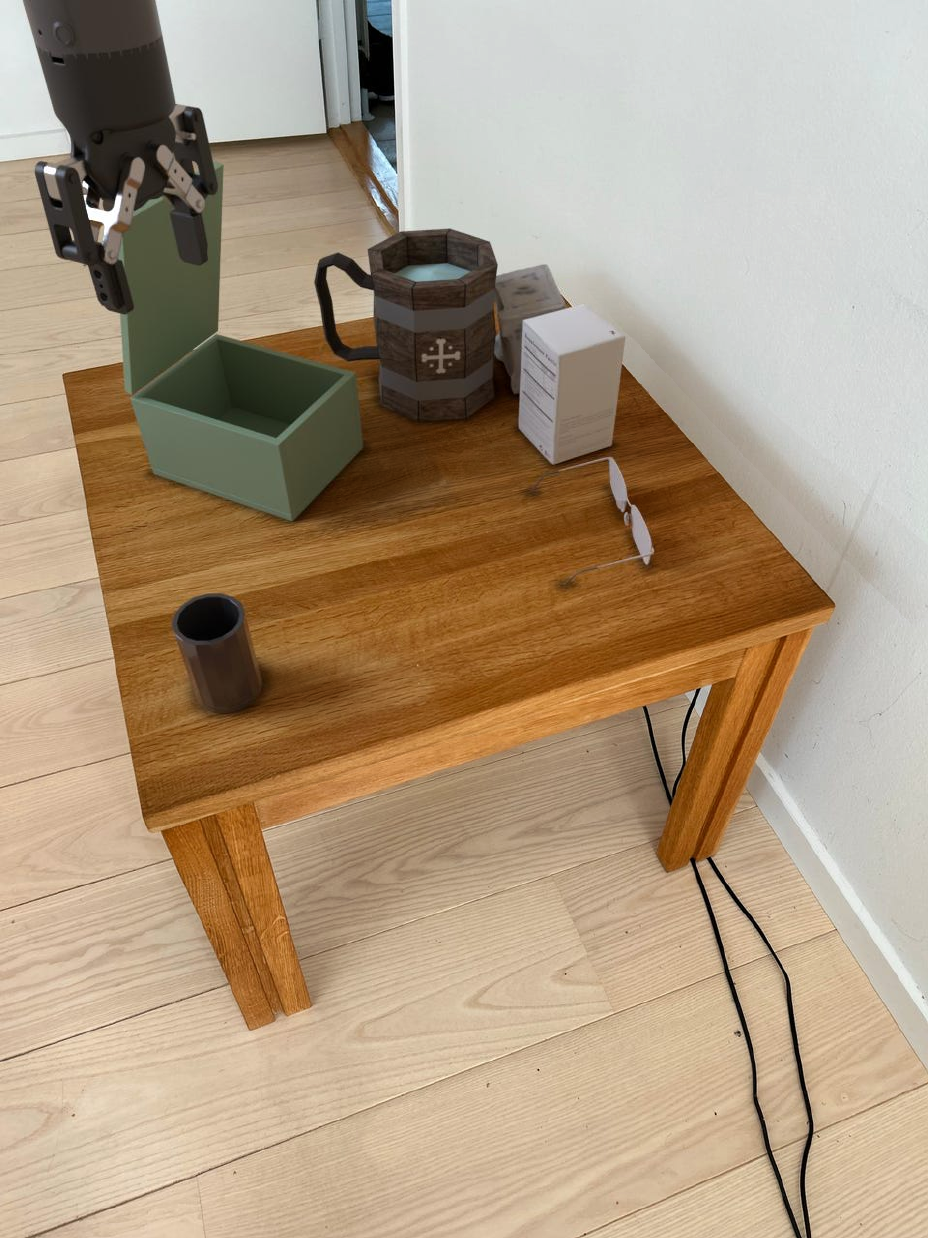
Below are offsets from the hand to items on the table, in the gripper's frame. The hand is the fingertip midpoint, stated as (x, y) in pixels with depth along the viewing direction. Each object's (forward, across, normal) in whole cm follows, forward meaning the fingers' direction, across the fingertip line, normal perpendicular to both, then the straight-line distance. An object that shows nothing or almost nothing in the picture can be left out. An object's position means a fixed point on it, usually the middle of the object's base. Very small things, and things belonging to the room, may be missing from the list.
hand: (158, 285), depth 68 cm
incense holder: (+24, -39, +14) cm, 48 cm away
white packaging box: (+24, -29, +23) cm, 44 cm away
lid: (+7, -12, -9) cm, 16 cm away
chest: (+24, -12, -4) cm, 27 cm away
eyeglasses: (+24, -16, +30) cm, 42 cm away
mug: (+24, -31, +4) cm, 39 cm away
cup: (+25, +14, +11) cm, 31 cm away
